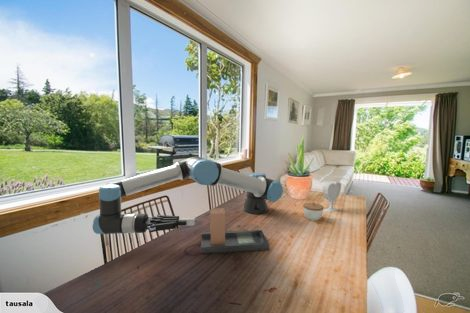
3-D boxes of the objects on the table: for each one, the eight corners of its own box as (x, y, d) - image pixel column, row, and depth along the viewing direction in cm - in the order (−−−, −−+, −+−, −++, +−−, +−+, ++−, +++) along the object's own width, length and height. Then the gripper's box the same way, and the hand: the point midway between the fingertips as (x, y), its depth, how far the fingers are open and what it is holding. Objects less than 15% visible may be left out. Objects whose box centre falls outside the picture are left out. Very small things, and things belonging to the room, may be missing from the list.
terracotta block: (210, 245, 90) (210, 213, 88) (210, 238, 96) (210, 208, 94) (225, 245, 91) (225, 213, 89) (224, 238, 97) (224, 208, 95)
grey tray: (200, 253, 86) (200, 247, 86) (201, 237, 99) (201, 232, 99) (268, 249, 89) (268, 244, 89) (261, 235, 102) (261, 230, 102)
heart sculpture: (327, 213, 132) (329, 184, 130) (320, 210, 136) (321, 182, 134) (340, 208, 141) (342, 181, 139) (333, 206, 145) (335, 179, 143)
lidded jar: (323, 217, 126) (324, 201, 125) (322, 223, 116) (323, 207, 115) (304, 213, 130) (304, 198, 129) (301, 220, 120) (302, 204, 119)
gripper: (141, 225, 95) (195, 223, 98) (130, 239, 82) (193, 237, 85) (141, 208, 94) (195, 207, 97) (130, 220, 81) (193, 219, 84)
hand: (194, 221), depth 91 cm, fingers closed
